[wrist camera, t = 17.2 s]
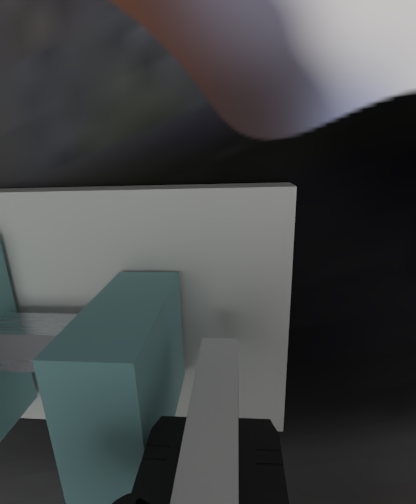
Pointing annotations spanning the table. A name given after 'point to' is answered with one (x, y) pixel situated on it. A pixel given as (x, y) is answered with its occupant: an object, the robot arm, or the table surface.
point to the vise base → (167, 266)
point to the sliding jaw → (96, 377)
